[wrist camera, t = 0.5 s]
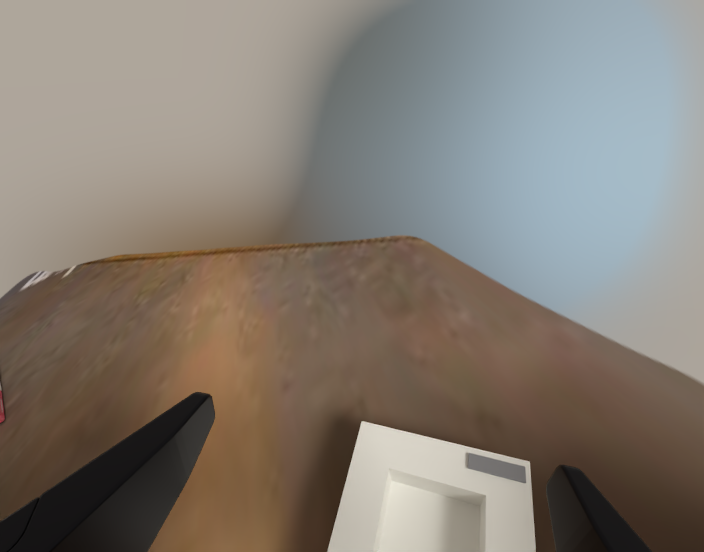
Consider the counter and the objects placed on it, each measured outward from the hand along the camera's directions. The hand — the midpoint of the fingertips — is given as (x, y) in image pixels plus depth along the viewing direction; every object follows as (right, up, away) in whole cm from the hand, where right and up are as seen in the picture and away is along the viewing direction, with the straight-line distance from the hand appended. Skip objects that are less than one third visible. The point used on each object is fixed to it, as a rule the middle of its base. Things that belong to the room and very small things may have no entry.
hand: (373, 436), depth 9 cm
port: (+4, -12, +11) cm, 16 cm away
